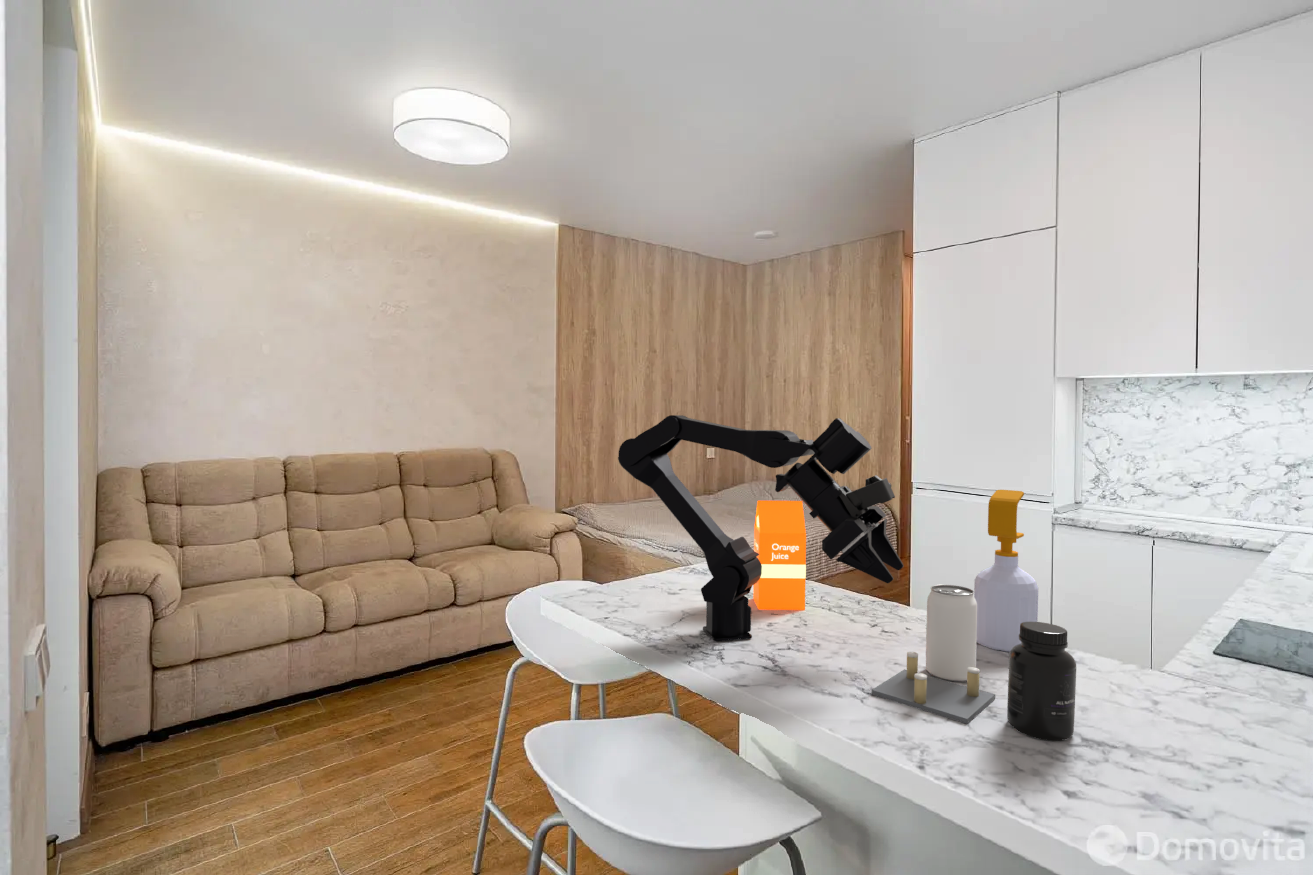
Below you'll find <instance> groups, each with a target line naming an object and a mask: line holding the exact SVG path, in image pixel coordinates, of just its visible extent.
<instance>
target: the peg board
mask: <svg viewBox="0 0 1313 875" xmlns="http://www.w3.org/2000/svg"><path fill="white" fill-rule="evenodd" d="M918 662H919V653H917V652H914V651H907V652H906V669H903V670H901V671H900V672H898V673H896V674H895V675H893V676H892V677H890V678H888V679H887V680H885V681H883V682H882V683H880V684H879V685H877V686H876V687H874V688H872V689H871V695H873V696H876V697H879V698H882V699H887V700H888V701H892V702H895V703H899V704H902V705H905V706H907V707H908V706H909V707H910V708H911V707H912V708H915V709H918V710H921V711H925V712H928V713H931V714H934V715H937V716H941V717H944V718H947V719H950V720H954V721H956V722H960V723H963V724H966V725H968V724H969V723H970V722H971V721H972V720H973V719H974V718H976V717H977V716H978V715H979V714H980V713H981V712H982V711H984V709H986V708H987V707H988V706H989V705H990V704H991V703H993V701H994V700H995V699H996V694H995V693H992V692H989V691H987V690H985V691H984V690H981V689H980V669H979V668H977V667H976V668H974V667H968V668H967V681H966V685H963V684H959V683H957V682H954V681H947V680H943V679H939V678H937V677H934V676H932V675H927V674H925V673H920V672H919V670H918V668H919V667H918V666H919V665H918V664H919V663H918Z"/></svg>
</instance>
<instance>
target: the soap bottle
mask: <svg viewBox="0 0 1313 875" xmlns="http://www.w3.org/2000/svg"><path fill="white" fill-rule="evenodd" d="M1024 495H1025V492H1024V491H1022V490H1015V489H1014V490H1012V489H997V490H996V491H994V492H993V494H991V496H990V498H989V500H988V506H987V507H988V509H987V510H988V511H987V512H988V513H987V535H989V536H992V537H996V539H997V540H996V541H997V542H999V543H1000V549H995V550H994V563H993V564H992V565H991V566H989V567H986V568H984V569H983V570H981V571H979V572H978V573H977V574H976V576H975V578H974V581H973V582H974V589H973V591H974V594H973V595H974V598H975V600H976V602H977V638H976V643H977V644H979V645H981V646H983V647H985V646H986V648H988V647H989V648H988V649H991V648H992V649H991V650H994V651H999V650H1001V651H1000V652H1005V653H1006V652H1007V653H1010V651H1011V649H1012V648H1013V647H1014V646H1016V645H1018V644H1021V641H1020V640H1019V634H1020V624H1021V623H1023V622H1038V615H1039V614H1038V613H1039V610H1038V609H1039V585H1038V583H1037V581H1036V579H1035V578H1034V577H1033V576H1032V575H1031V574H1030V573H1028V572H1026V570H1023V569H1022V568H1021V567H1020V566H1019V552H1018V551H1016V550H1013V544H1016V543H1017V540H1019V539H1021V538H1023V537H1024V536H1025V534H1024V533H1023V532H1017V529H1018V528H1017V524H1018V523H1017V521H1018V505H1019V502H1021V500H1022V499H1023V497H1024Z"/></svg>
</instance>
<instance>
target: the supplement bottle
mask: <svg viewBox="0 0 1313 875" xmlns="http://www.w3.org/2000/svg"><path fill="white" fill-rule="evenodd" d="M1019 640H1020V641H1021V644H1018V645H1016V646H1014V647H1013V648H1012V649H1011V651H1010V652H1009V654H1008V656H1009V657H1008V676H1007V677H1008V679H1007V680H1008V681H1007V704H1006V705H1007V709H1006V710H1007V711H1006V714H1007V715H1006V718H1007V719H1006V720H1007V721H1008V724H1009V725H1010V726H1011V728H1013V729H1014V730H1015V731H1017V732H1019V733H1020V734H1023V735H1024V736H1028V737H1031V738H1034V739H1039V740H1042V741H1043V740H1044V741H1047V742H1049V741H1050V742H1063V741H1066V740H1068V739H1070V738H1071V737H1073V735H1074V733H1075V732H1074V731H1075V717H1076V716H1075V714H1076V712H1075V710H1076V691H1077V686H1076V685H1077V661H1076V660H1075V658H1074V657H1073V656H1072V655H1071V654H1070V653H1069V652H1068V651H1067V650H1066V649H1067V648H1068V645H1069V644H1068V643H1069V642H1068V630H1067V629H1065V628H1064V627H1062V626H1060V625H1057V624H1052V623H1049V622H1048V623H1047V622H1042V621H1041V622H1040V621H1037V622H1023V623H1021V624H1020V634H1019Z"/></svg>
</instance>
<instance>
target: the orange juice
mask: <svg viewBox="0 0 1313 875" xmlns="http://www.w3.org/2000/svg"><path fill="white" fill-rule="evenodd" d="M803 503H804V502H803V501H802V500H757V502H756V513H755V521H754V525H753V529H754V530H753V538H754V539H753V550H754V551H755V552H757V553H759V556H757V558H758V559H759V561H760V563H761V565H762V574H761V577H760V579H759V581H758V582H757V583H756V584H754V585H752V587H753V591H752V592H753V594H752V596H753V601H754V603H755V605H756V607H757V609H758V610H759V611H760V610H761V611H762V610H763V611H765V610H767V611H769V610H770V611H772V610H773V611H782V610H784V611H806V579H807V578H806V577H807V563H806V562H807V560H806V558H807V531H806V523H805V522H806V521H805V512H804V505H803Z"/></svg>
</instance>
